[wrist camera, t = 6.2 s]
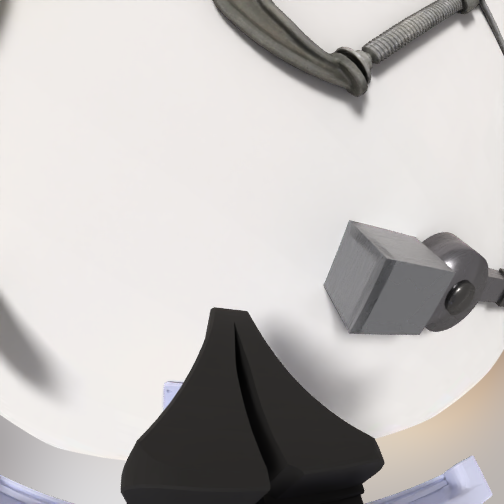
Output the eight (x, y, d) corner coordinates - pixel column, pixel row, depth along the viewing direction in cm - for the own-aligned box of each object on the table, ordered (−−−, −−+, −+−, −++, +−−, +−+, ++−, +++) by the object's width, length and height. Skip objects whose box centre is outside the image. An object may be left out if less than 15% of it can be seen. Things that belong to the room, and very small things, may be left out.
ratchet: (528, 260, 24) (550, 278, 20) (502, 309, 27) (521, 329, 23) (374, 211, 18) (408, 239, 15) (339, 299, 21) (360, 337, 18)
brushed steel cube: (415, 237, 20) (455, 272, 15) (388, 293, 22) (419, 334, 18) (349, 220, 19) (386, 258, 14) (323, 285, 21) (349, 333, 16)
